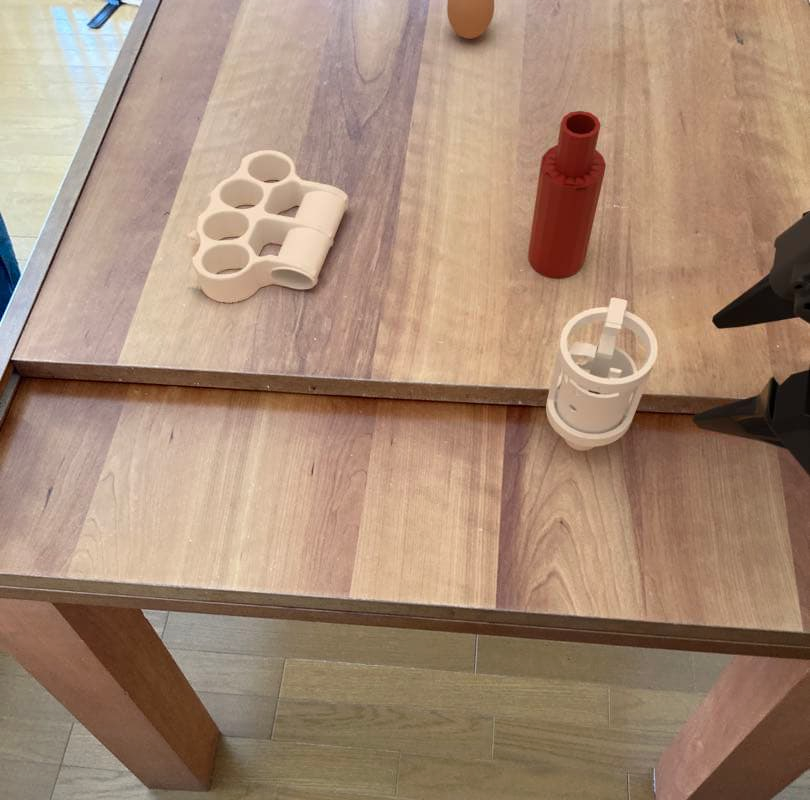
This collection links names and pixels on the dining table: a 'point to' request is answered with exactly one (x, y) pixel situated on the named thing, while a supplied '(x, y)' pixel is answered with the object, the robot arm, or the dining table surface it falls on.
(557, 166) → the sauce bottle
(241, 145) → the dining table surface
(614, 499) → the dining table surface
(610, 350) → the cream cylindrical cage part
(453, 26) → the egg
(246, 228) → the knuckle duster
